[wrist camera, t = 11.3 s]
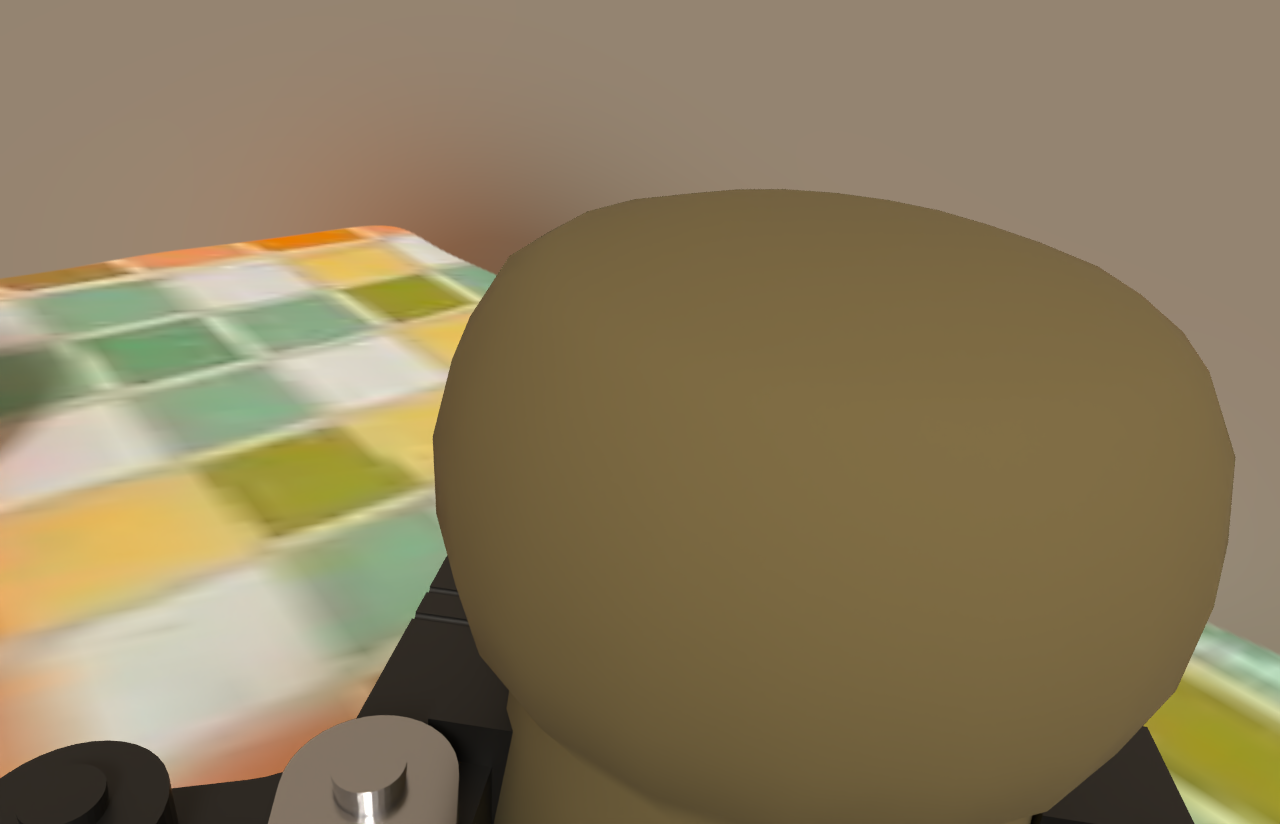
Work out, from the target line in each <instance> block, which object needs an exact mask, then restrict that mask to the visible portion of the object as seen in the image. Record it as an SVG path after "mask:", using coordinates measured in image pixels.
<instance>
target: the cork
mask: <svg viewBox="0 0 1280 824" xmlns="http://www.w3.org/2000/svg"><path fill="white" fill-rule="evenodd" d="M433 451H434V473H435V494H436V514H437V517H438V521H439V525H440V529H441V533H442V536H443V540H444V544H445V548H446V551H447V555H448V559H449V563H450V566H451V570H452V574H453V578H454V581H455V585H456V588H457V591H458V594H459V597H460V600H461V603H462V605H463V608H464V611H465V614H466V617H467V620H468V623H469V626H470V629H471V632H472V635H473V638H474V641H475V644H476V647H477V650H478V653H479V655H480V656H481V658H482V659H483V660H484V661H485V662H486V663H487V665H488V666H489V667H490V668H491V669H492V671H493V672H494V673H495V674H496V675H497V677H498V678H499V679H500V680H501V681H502V683H503V684H504V685H505V686H506V687H507V689H508V690H509V695H508V702H507V708H506V709H507V712H508V716H509V719H510V723H511V726H512V730H513V734H512V739H511V744H510V749H509V753H508V758H507V763H506V768H505V772H504V777H503V782H502V787H501V791H500V796H499V801H498V806H497V811H496V815H495V820H494V824H1031V820H1032V815H1036V814H1039V813H1043V812H1047V811H1048V810H1050V809H1051V808H1052V807H1053V806H1054V805H1056V804H1057V803H1058V802H1059V801H1060V800H1062V799H1063V798H1064V797H1065V796H1066V795H1068V794H1069V793H1070V792H1071V791H1072V790H1074V789H1075V788H1076V787H1077V786H1078V785H1080V784H1081V783H1082V782H1083V781H1084V780H1086V779H1087V778H1088V777H1089V776H1090V775H1092V774H1093V773H1094V772H1095V771H1096V770H1098V769H1099V768H1100V767H1101V766H1102V765H1104V764H1105V763H1106V762H1107V761H1109V760H1110V759H1111V758H1112V757H1113V756H1115V755H1116V754H1117V753H1118V752H1119V751H1120V750H1121V749H1122V748H1123V746H1124V745H1125V744H1126V743H1127V742H1128V741H1129V740H1130V739H1131V738H1132V737H1133V736H1134V735H1135V734H1136V733H1137V732H1138V730H1139V729H1140V728H1141V727H1142V726H1143V725H1144V724H1145V723H1146V722H1147V721H1148V720H1149V719H1150V718H1151V717H1152V716H1153V714H1154V713H1155V712H1156V711H1157V710H1158V709H1159V708H1160V707H1161V706H1162V705H1163V704H1164V703H1165V702H1166V701H1167V700H1168V698H1169V697H1170V696H1171V695H1172V694H1173V693H1174V692H1175V691H1176V689H1177V687H1178V685H1179V683H1180V680H1181V678H1182V676H1183V674H1184V672H1185V669H1186V667H1187V665H1188V663H1189V661H1190V658H1191V656H1192V654H1193V652H1194V650H1195V647H1196V645H1197V643H1198V641H1199V639H1200V636H1201V634H1202V632H1203V630H1204V628H1205V625H1206V623H1207V621H1208V619H1209V616H1210V614H1211V612H1212V610H1213V607H1214V603H1215V599H1216V594H1217V590H1218V585H1219V581H1220V576H1221V572H1222V567H1223V563H1224V558H1225V554H1226V549H1227V545H1228V536H1229V525H1230V513H1231V502H1232V501H1231V500H1232V489H1233V478H1234V467H1235V454H1234V451H1233V448H1232V444H1231V441H1230V438H1229V435H1228V432H1227V428H1226V425H1225V422H1224V418H1223V415H1222V412H1221V409H1220V405H1219V402H1218V399H1217V395H1216V392H1215V389H1214V386H1213V382H1212V379H1211V376H1210V373H1209V371H1208V369H1207V367H1206V366H1205V365H1204V363H1203V361H1202V360H1201V358H1200V357H1199V355H1198V354H1197V352H1196V351H1195V349H1194V348H1193V347H1192V345H1191V344H1190V342H1189V340H1188V339H1187V338H1186V336H1185V334H1184V333H1183V332H1182V331H1181V330H1180V329H1179V328H1178V327H1177V326H1176V325H1174V324H1173V323H1172V322H1171V321H1170V320H1169V319H1168V318H1167V317H1165V316H1164V315H1163V314H1162V313H1161V312H1160V311H1159V310H1158V309H1156V308H1155V307H1154V306H1153V305H1152V304H1151V303H1150V302H1149V301H1147V300H1146V299H1145V298H1144V297H1143V296H1142V295H1141V294H1139V293H1138V292H1136V291H1135V290H1133V289H1131V288H1130V287H1128V286H1127V285H1125V284H1124V283H1122V282H1121V281H1119V280H1117V279H1116V278H1115V277H1113V276H1112V275H1110V274H1109V273H1107V272H1106V271H1104V270H1102V269H1101V268H1099V267H1098V266H1095V265H1093V264H1090V263H1088V262H1086V261H1083V260H1081V259H1078V258H1076V257H1074V256H1071V255H1069V254H1066V253H1064V252H1062V251H1059V250H1057V249H1054V248H1052V247H1049V246H1047V245H1045V244H1042V243H1040V242H1037V241H1034V240H1031V239H1028V238H1025V237H1022V236H1019V235H1016V234H1014V233H1010V232H1007V231H1005V230H1002V229H999V228H996V227H993V226H990V225H987V224H984V223H980V222H977V221H974V220H970V219H966V218H963V217H959V216H956V215H952V214H949V213H946V212H942V211H939V210H933V209H929V208H924V207H919V206H914V205H910V204H905V203H900V202H895V201H890V200H884V199H876V198H869V197H861V196H854V195H847V194H840V193H829V192H814V191H799V190H786V189H765V190H764V189H763V190H762V189H761V190H760V189H758V190H755V189H753V190H752V189H749V190H726V191H714V192H703V193H691V194H682V195H672V196H662V197H652V198H643V199H634V200H630V201H626V202H622V203H618V204H614V205H611V206H607V207H603V208H599V209H595V210H592V211H588V212H586V213H584V214H582V215H580V216H578V217H576V218H574V219H572V220H571V221H569V222H567V223H565V224H563V225H561V226H559V227H557V228H555V229H554V230H552V231H550V232H548V233H546V234H545V235H543V236H541V237H540V238H538V239H536V240H535V241H533V242H532V243H530V244H528V245H527V246H525V247H524V248H522V249H520V250H519V251H517V252H516V253H514V254H512V255H511V256H509V258H508V259H507V261H506V263H505V264H504V265H503V267H502V269H501V270H500V272H499V273H498V275H497V276H496V278H495V279H494V281H493V282H492V284H491V285H490V287H489V289H488V290H487V292H486V293H485V295H484V296H483V298H482V299H481V301H480V302H479V304H478V305H477V307H476V308H475V310H474V312H473V313H472V315H471V316H470V318H469V321H468V323H467V325H466V328H465V330H464V332H463V335H462V337H461V340H460V342H459V344H458V347H457V349H456V351H455V354H454V356H453V359H452V362H451V366H450V370H449V374H448V378H447V382H446V386H445V390H444V394H443V398H442V402H441V406H440V410H439V414H438V418H437V422H436V426H435V430H434V434H433Z"/></svg>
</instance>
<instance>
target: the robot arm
mask: <svg viewBox="0 0 1280 824" xmlns="http://www.w3.org/2000/svg"><path fill="white" fill-rule="evenodd" d="M508 695H509V690H508V689H507V687H506V686H505V685H504V684H503V683H502V681H501V680H500V679H499V678H498V677H497V675H496V674H495V673H494V672H493V671H492V669H491V668H490V667H489V666H488V665H487V663H486V662H485V661H484V660H483V659H482V658H481V656H480V655H479V653H478V650H477V647H476V644H475V641H474V638H473V635H472V632H471V629H470V626H469V623H468V620H467V617H466V614H465V611H464V608H463V605H462V603H461V600H460V597H459V594H458V591H457V588H456V585H455V581H454V578H453V574H452V570H451V566H450V563H449V559H448V555H447V557H446V559H445V560H444V562H443V564H442V566H441V568H440V569H439V571H438V573H437V575H436V577H435V578H434V580H433V582H432V584H431V586H430V591H429V593H426V594H425V596H424V598H423V600H422V602H421V603H420V605H419V607H418V609H417V611H416V615H415V619H412V620H411V621H410V623H409V625H408V627H407V629H406V630H405V632H404V634H403V636H402V638H401V639H400V641H399V643H398V645H397V646H396V648H395V650H394V652H393V654H392V655H391V657H390V659H389V661H388V663H387V664H386V666H385V668H384V670H383V672H382V673H381V675H380V677H379V679H378V681H377V682H376V684H375V686H374V688H373V690H372V691H371V693H370V695H369V697H368V699H367V700H366V702H365V704H364V706H363V707H362V709H361V711H360V713H359V715H358V716H357V718H356V719H353V720H350V721H347V722H344V723H341V724H338V725H336V726H334V727H332V728H330V729H328V730H325V731H323V732H322V733H320V734H319V735H317V736H316V737H314V738H313V739H311V740H310V741H309V742H308V743H306V744H305V745H304V746H303V747H302V748H301V749H300V750H299V751H298V752H297V753H296V754H295V755H294V756H293V758H292V759H291V760H290V762H289V763H288V765H287V766H286V768H285V770H284V771H283V772H282V773H278V774H275V775H271V776H267V777H262V778H256V779H251V780H243V781H234V782H225V783H216V784H208V785H199V786H190V787H181V788H172V789H171V784H170V779H169V774H168V772H167V770H166V767H165V765H164V764H163V762H162V761H161V760H160V759H159V758H158V756H156V755H155V754H154V753H152V752H151V751H149V750H148V749H146V748H143V747H141V746H139V745H136V744H131V743H127V742H121V741H92V742H86V743H80V744H74V745H71V746H67V747H64V748H60V749H57V750H54V751H51V752H49V753H46V754H43V755H41V756H39V757H37V758H35V759H33V760H30V761H28V762H26V763H24V764H22V765H21V766H19V767H18V768H16V769H14V770H13V771H11V772H9V773H8V774H6V775H5V776H3V777H2V778H0V824H494V820H495V815H496V811H497V806H498V801H499V796H500V791H501V787H502V782H503V777H504V772H505V768H506V763H507V758H508V753H509V749H510V744H511V739H512V734H513V730H512V726H511V723H510V719H509V716H508V712H507V709H506V708H507V702H508ZM1031 824H1194V822H1193V820H1192V818H1191V816H1190V814H1189V812H1188V810H1187V808H1186V806H1185V804H1184V801H1183V799H1182V797H1181V795H1180V793H1179V791H1178V789H1177V787H1176V785H1175V783H1174V781H1173V779H1172V777H1171V775H1170V773H1169V771H1168V769H1167V767H1166V765H1165V763H1164V761H1163V759H1162V756H1161V754H1160V752H1159V750H1158V748H1157V746H1156V744H1155V742H1154V740H1153V738H1152V736H1151V734H1150V732H1149V730H1148V728H1147V727H1143V726H1142V727H1141V728H1140V729H1139V730H1138V732H1137V733H1136V734H1135V735H1134V736H1133V737H1132V738H1131V739H1130V740H1129V741H1128V742H1127V743H1126V744H1125V745H1124V746H1123V748H1122V749H1121V750H1120V751H1119V752H1118V753H1117V754H1116V755H1115V756H1113V757H1112V758H1111V759H1110V760H1109V761H1107V762H1106V763H1105V764H1104V765H1102V766H1101V767H1100V768H1099V769H1098V770H1096V771H1095V772H1094V773H1093V774H1092V775H1090V776H1089V777H1088V778H1087V779H1086V780H1084V781H1083V782H1082V783H1081V784H1080V785H1078V786H1077V787H1076V788H1075V789H1074V790H1072V791H1071V792H1070V793H1069V794H1068V795H1066V796H1065V797H1064V798H1063V799H1062V800H1060V801H1059V802H1058V803H1057V804H1056V805H1054V806H1053V807H1052V808H1051V809H1050V810H1048V811H1047V812H1043V813H1039V814H1036V815H1032V820H1031Z"/></svg>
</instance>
